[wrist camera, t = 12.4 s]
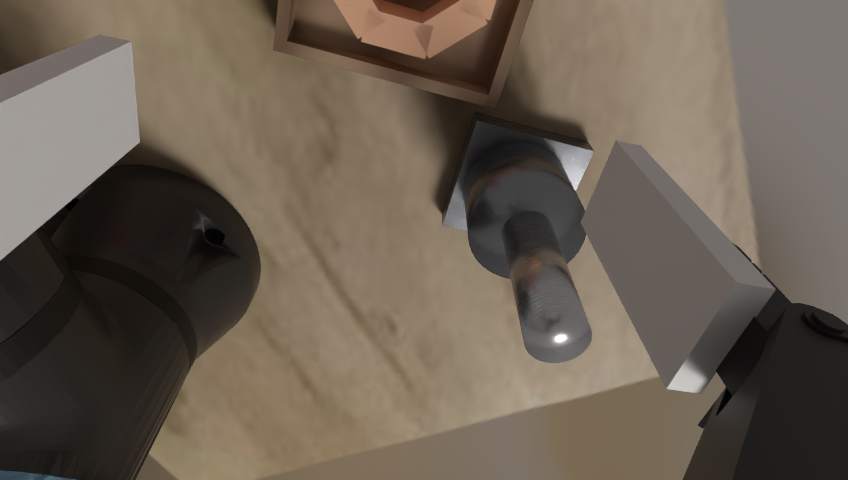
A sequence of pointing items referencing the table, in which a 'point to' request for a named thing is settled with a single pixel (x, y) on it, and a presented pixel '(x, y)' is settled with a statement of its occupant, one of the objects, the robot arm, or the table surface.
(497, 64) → the tray
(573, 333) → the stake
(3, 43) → the table surface
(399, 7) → the ring
